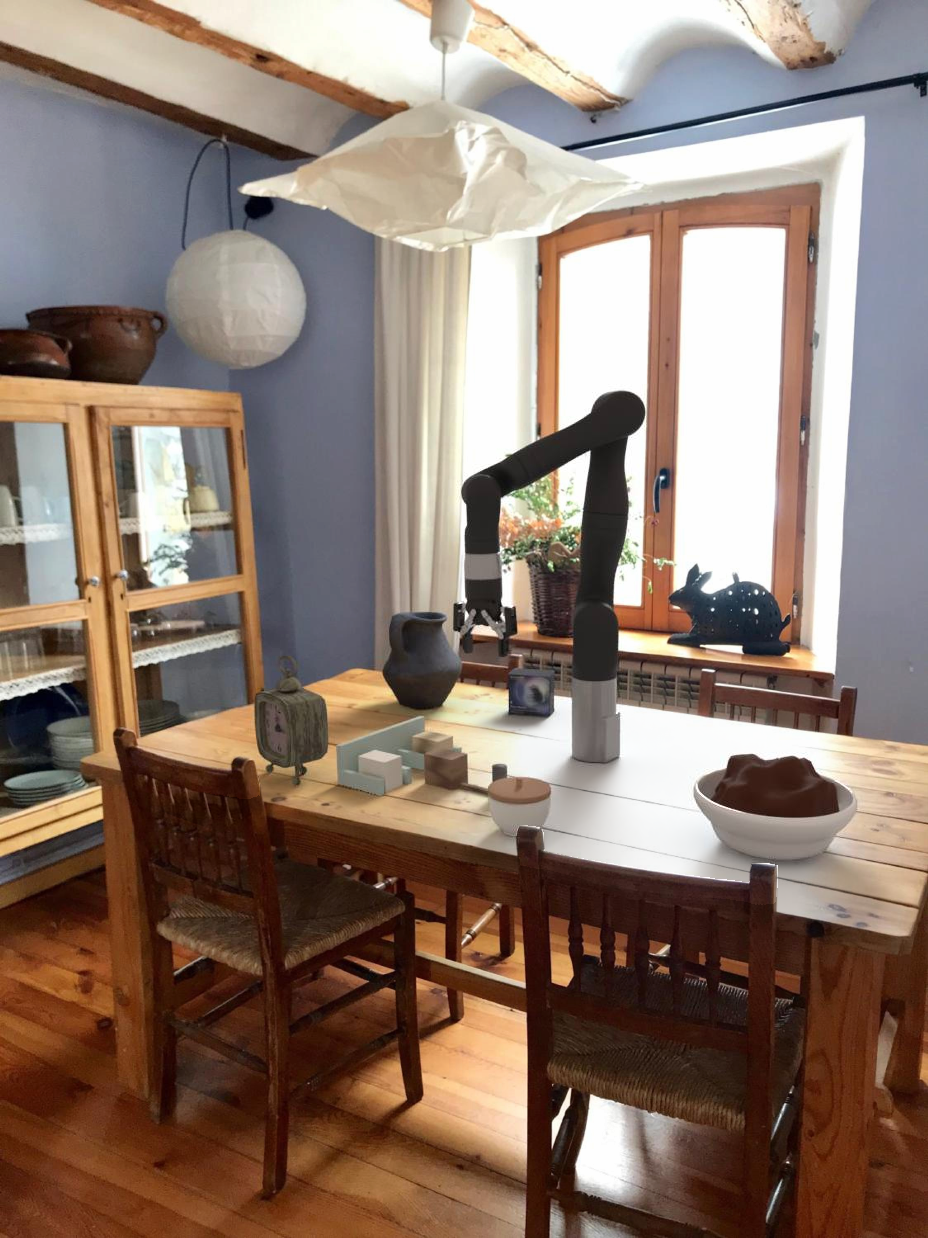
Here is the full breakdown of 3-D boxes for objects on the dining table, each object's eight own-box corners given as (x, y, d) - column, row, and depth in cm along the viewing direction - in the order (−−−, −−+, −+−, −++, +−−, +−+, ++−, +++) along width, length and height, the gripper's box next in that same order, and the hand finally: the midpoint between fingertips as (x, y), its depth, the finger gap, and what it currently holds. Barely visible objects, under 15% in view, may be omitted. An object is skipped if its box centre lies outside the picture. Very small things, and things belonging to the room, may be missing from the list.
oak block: (453, 763, 199) (452, 736, 198) (439, 770, 196) (438, 741, 195) (427, 758, 204) (426, 730, 203) (412, 764, 200) (412, 736, 199)
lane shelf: (461, 761, 201) (461, 724, 199) (379, 796, 181) (378, 755, 180) (421, 751, 208) (420, 716, 206) (337, 784, 188) (336, 745, 187)
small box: (507, 715, 235) (506, 673, 233) (513, 708, 241) (513, 667, 240) (549, 717, 232) (549, 675, 230) (555, 710, 238) (555, 669, 237)
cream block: (402, 785, 187) (401, 756, 186) (385, 792, 183) (384, 762, 182) (376, 778, 191) (375, 750, 190) (359, 785, 188) (358, 756, 187)
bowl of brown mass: (790, 895, 138) (794, 796, 135) (660, 841, 158) (661, 753, 155) (886, 851, 152) (892, 760, 150) (756, 806, 172) (758, 725, 170)
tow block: (513, 794, 181) (513, 764, 180) (498, 802, 177) (498, 771, 176) (440, 776, 192) (439, 747, 191) (424, 783, 188) (423, 753, 187)
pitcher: (478, 700, 249) (476, 606, 245) (431, 721, 231) (428, 619, 227) (413, 691, 260) (410, 600, 256) (363, 710, 242) (360, 613, 238)
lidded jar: (513, 814, 171) (512, 763, 169) (563, 828, 164) (563, 775, 163) (475, 832, 163) (474, 780, 161) (526, 848, 156) (526, 793, 155)
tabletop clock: (257, 772, 196) (250, 653, 192) (296, 762, 202) (290, 646, 198) (293, 790, 185) (286, 664, 181) (333, 779, 191) (327, 656, 187)
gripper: (523, 574, 190) (525, 654, 193) (465, 571, 199) (468, 648, 201) (502, 579, 184) (504, 661, 187) (443, 575, 193) (446, 654, 196)
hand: (485, 654), depth 194 cm, fingers open, 8 cm apart
